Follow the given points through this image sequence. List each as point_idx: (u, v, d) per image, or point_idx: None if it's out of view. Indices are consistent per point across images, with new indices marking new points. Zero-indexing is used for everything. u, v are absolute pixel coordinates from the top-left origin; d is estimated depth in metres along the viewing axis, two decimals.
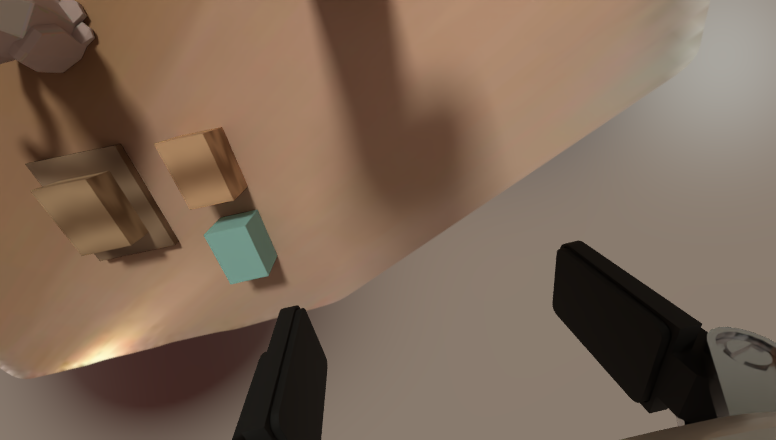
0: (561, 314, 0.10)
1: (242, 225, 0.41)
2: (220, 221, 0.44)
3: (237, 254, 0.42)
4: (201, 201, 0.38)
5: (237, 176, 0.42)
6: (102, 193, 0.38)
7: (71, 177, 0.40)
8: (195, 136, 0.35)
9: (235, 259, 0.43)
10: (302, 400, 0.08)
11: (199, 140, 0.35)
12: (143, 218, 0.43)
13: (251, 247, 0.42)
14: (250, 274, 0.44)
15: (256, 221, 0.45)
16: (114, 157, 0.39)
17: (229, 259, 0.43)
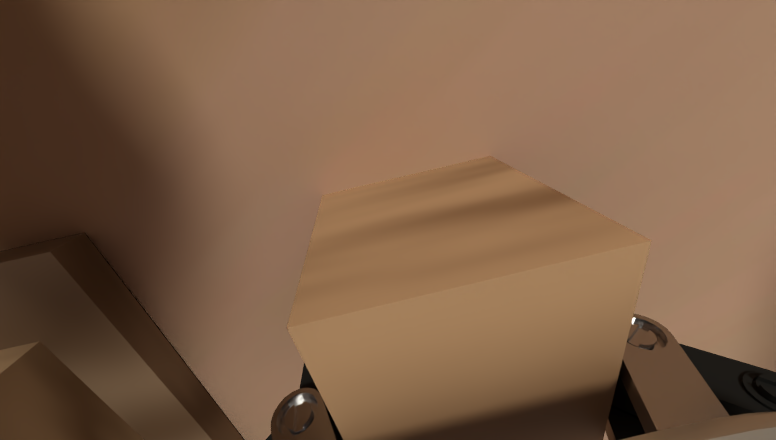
0: None
1: None
2: None
3: None
4: None
5: None
6: None
7: None
8: (593, 261, 0.05)
9: None
10: None
11: (598, 286, 0.05)
12: None
13: None
14: None
15: None
16: (56, 295, 0.09)
17: None
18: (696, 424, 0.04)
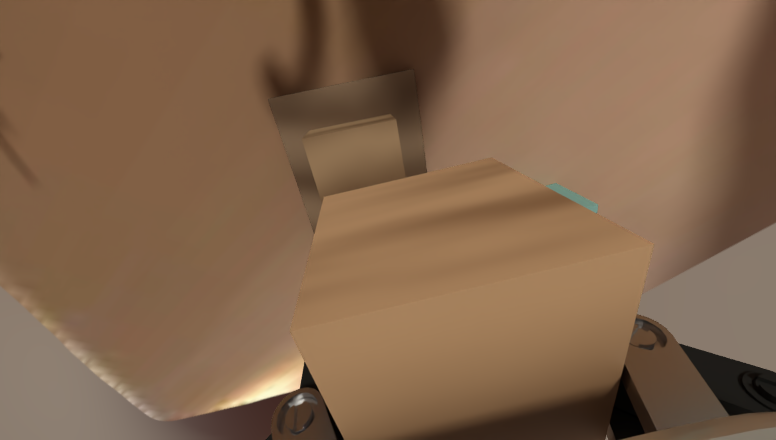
0: None
1: (588, 203, 0.25)
2: None
3: None
4: None
5: None
6: None
7: (330, 124, 0.24)
8: (596, 264, 0.05)
9: None
10: None
11: (601, 289, 0.05)
12: None
13: None
14: None
15: None
16: (406, 90, 0.24)
17: None
18: (696, 424, 0.04)
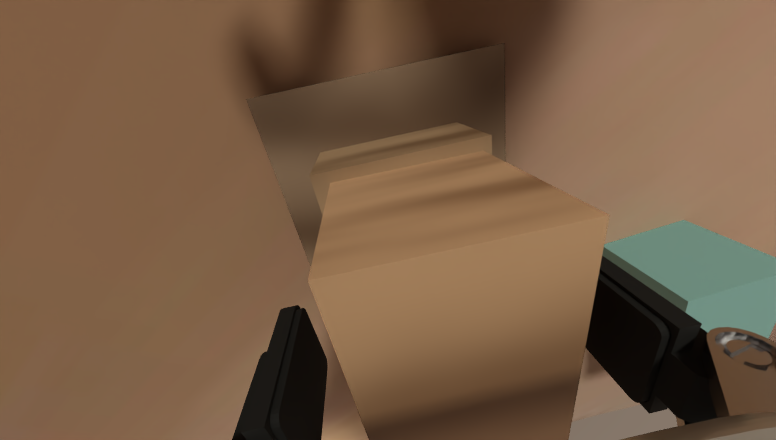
0: None
1: None
2: (629, 254, 0.19)
3: None
4: None
5: None
6: None
7: (355, 141, 0.14)
8: (562, 231, 0.06)
9: None
10: (302, 400, 0.08)
11: (567, 253, 0.06)
12: None
13: (769, 318, 0.17)
14: None
15: None
16: (487, 81, 0.14)
17: None
18: (696, 424, 0.04)
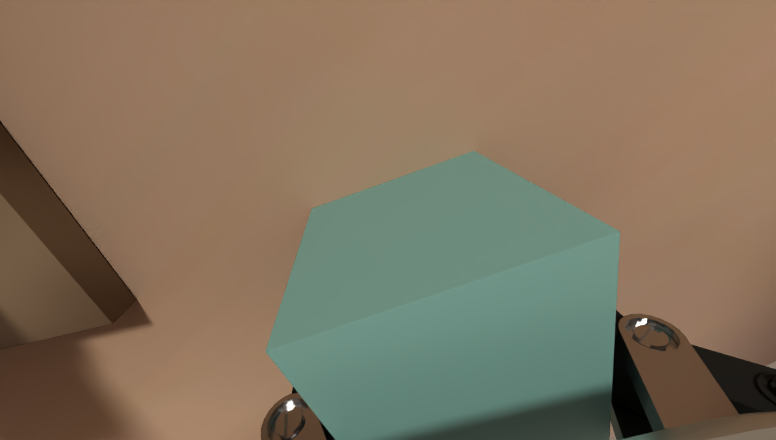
0: None
1: (567, 226, 0.05)
2: (324, 224, 0.09)
3: (488, 426, 0.06)
4: None
5: None
6: None
7: None
8: None
9: None
10: None
11: None
12: None
13: (586, 377, 0.06)
14: None
15: None
16: None
17: None
18: (696, 424, 0.04)
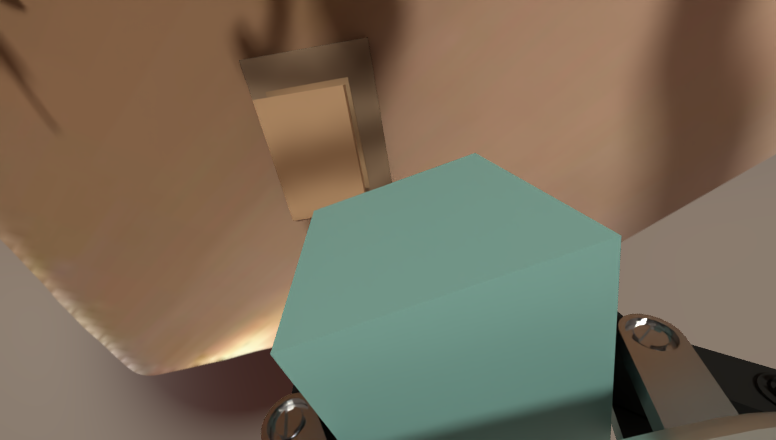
0: None
1: (569, 231, 0.05)
2: (326, 226, 0.09)
3: (490, 427, 0.06)
4: (314, 207, 0.22)
5: None
6: (353, 104, 0.26)
7: (295, 85, 0.27)
8: (329, 89, 0.19)
9: None
10: None
11: (333, 98, 0.19)
12: (368, 154, 0.31)
13: (587, 379, 0.06)
14: None
15: None
16: (361, 56, 0.27)
17: None
18: (696, 424, 0.04)
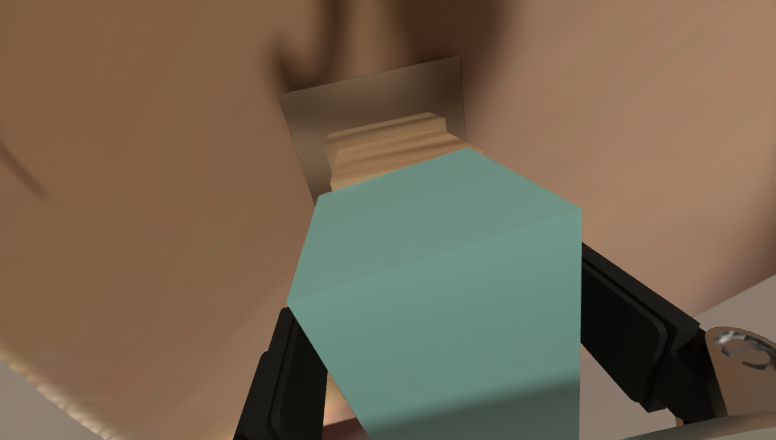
0: None
1: (541, 206, 0.06)
2: (331, 207, 0.09)
3: (472, 383, 0.07)
4: None
5: None
6: None
7: (354, 125, 0.20)
8: None
9: (453, 406, 0.08)
10: (303, 399, 0.08)
11: None
12: None
13: (558, 340, 0.07)
14: None
15: None
16: (449, 82, 0.19)
17: (422, 410, 0.08)
18: (696, 424, 0.04)
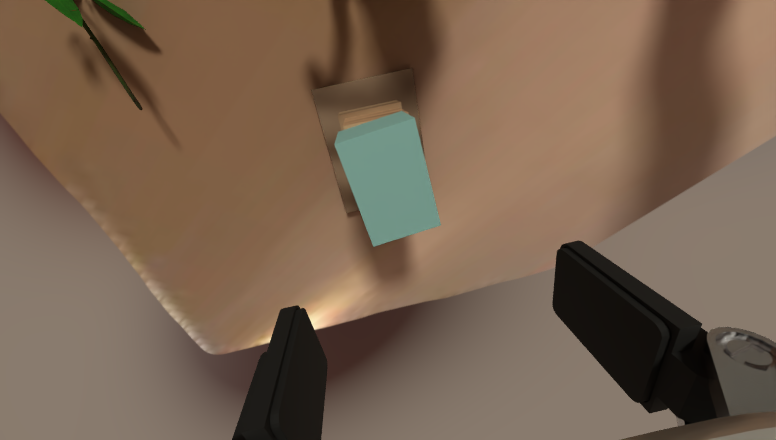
0: (561, 314, 0.10)
1: (406, 119, 0.21)
2: (344, 132, 0.24)
3: (392, 184, 0.22)
4: None
5: None
6: None
7: (353, 107, 0.34)
8: None
9: (387, 195, 0.22)
10: (302, 400, 0.08)
11: None
12: None
13: (419, 166, 0.22)
14: (410, 224, 0.24)
15: None
16: (407, 83, 0.34)
17: (376, 195, 0.22)
18: (696, 424, 0.04)
